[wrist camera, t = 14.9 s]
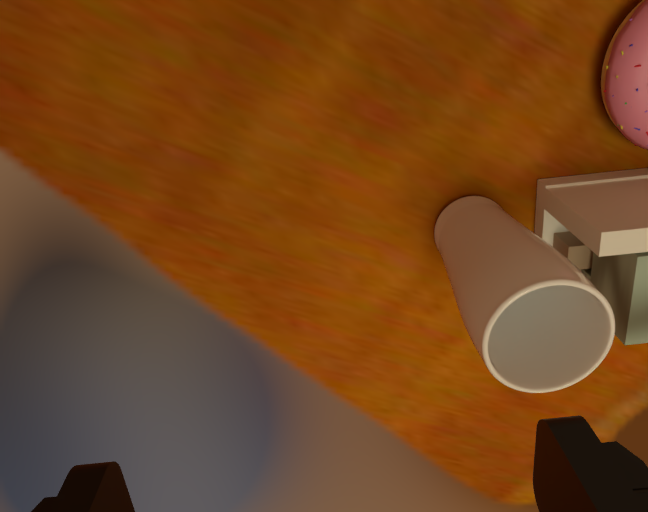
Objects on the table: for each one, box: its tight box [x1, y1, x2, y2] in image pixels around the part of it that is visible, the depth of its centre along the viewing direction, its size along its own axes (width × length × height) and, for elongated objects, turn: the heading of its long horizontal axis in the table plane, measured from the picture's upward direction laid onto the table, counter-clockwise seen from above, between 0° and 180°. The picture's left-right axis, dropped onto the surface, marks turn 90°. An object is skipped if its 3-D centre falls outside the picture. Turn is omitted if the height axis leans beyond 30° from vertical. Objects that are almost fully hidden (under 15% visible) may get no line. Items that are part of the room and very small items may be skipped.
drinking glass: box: [434, 196, 615, 393], centre depth 35 cm, size 7×7×15 cm
